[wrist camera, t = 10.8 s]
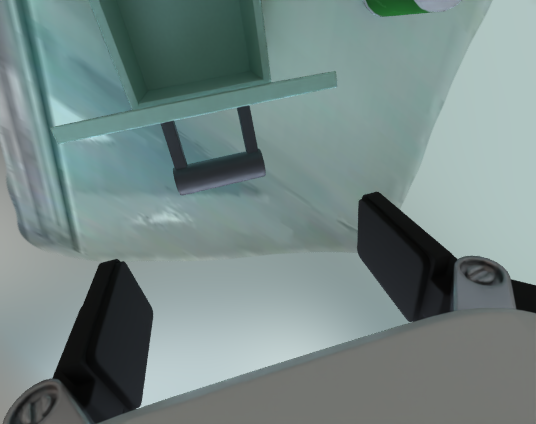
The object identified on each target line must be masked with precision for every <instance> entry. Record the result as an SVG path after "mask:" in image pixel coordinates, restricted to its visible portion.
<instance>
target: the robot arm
mask: <svg viewBox="0 0 536 424" xmlns="http://www.w3.org/2000/svg"><path fill="white" fill-rule="evenodd" d="M357 251H358V254H359V256H360V258H361V259H362V261H363V262H364V263H365V265H366V266H367V267H368V269H369V270H370V271H371V273H372V274H373V275H374V277H375V278H376V279H377V281H378V282H379V283H380V285H381V286H382V287H383V289H384V290H385V291H386V293H387V294H388V295H389V297H390V298H391V299H392V300H393V302H394V303H395V305H396V306H397V307H398V309H399V310H400V311H401V312H402V314H403V315H404V317H405V318H406V319H407V320H408V321H409V322H412V321H413V322H412V323H408V324H404V325H401V326H397V327H394V328H391V329H388V330H384V331H381V332H378V333H375V334H371V335H368V336H365V337H362V338H358V339H355V340H352V341H349V342H345V343H342V344H339V345H336V346H332V347H329V348H326V349H323V350H320V351H316V352H313V353H310V354H307V355H304V356H300V357H297V358H294V359H291V360H288V361H284V362H281V363H278V364H275V365H272V366H268V367H265V368H262V369H259V370H256V371H253V372H249V373H246V374H243V375H240V376H237V377H234V378H231V379H227V380H224V381H221V382H218V383H215V384H212V385H209V386H206V387H203V388H199V389H196V390H193V391H190V392H187V393H184V394H181V395H177V396H174V397H171V398H168V399H165V400H162V401H159V402H157V403H153V404H151V405H148V406H145V407H142V408H139V407H140V405H141V402H142V395H143V388H144V381H145V373H146V365H147V358H148V351H149V343H150V336H151V328H152V321H153V310H152V307H151V305H150V304H149V302H148V300H147V298H146V297H145V295H144V293H143V292H142V290H141V288H140V287H139V285H138V283H137V281H136V280H135V278H134V276H133V274H132V273H131V271H130V269H129V268H128V266H127V264H126V263H125V262H124V261H122V262H120V261H119V260H118V259H115V260H111V261H107V262H103V263H101V264H99V266H98V269H97V271H96V274H95V276H94V279H93V281H92V284H91V286H90V289H89V291H88V294H87V296H86V299H85V301H84V304H83V306H82V307H81V309H80V311H79V314H78V316H77V318H76V321H75V323H74V326H73V328H72V331H71V333H70V336H69V339H68V341H67V343H66V346H65V348H64V351H63V353H62V356H61V358H60V361H59V363H58V366H57V368H56V371H55V373H54V376H53V378H52V379H48V380H44V381H41V382H39V383H37V384H35V385H33V386H32V387H31V388H29V389H28V390H26V391H25V392H24V393H23V394H22V395H21V396H20V397H19V398H18V399H17V400H16V401H15V402H14V404H13V405H12V407H10V409H9V410H8V412H7V414H6V416H5V418H4V421H3V424H536V285H532V284H528V283H524V282H520V281H515V280H511V279H510V276H509V274H508V272H507V271H506V270H505V269H504V268H503V266H501V265H500V264H498V263H497V262H495V261H492V260H490V259H488V258H484V257H480V256H465V257H462V258H459V259H457V258H456V257H454V256H453V255H452V254H451V253H450V252H449V251H448V250H447V249H446V248H444V247H443V246H442V245H441V244H440V243H438V242H437V241H436V240H435V239H434V238H433V237H431V236H430V235H429V234H428V233H426V232H425V231H424V230H423V229H422V228H421V227H420V226H418V225H417V224H416V223H415V222H414V221H412V220H411V219H410V218H409V217H408V216H407V215H405V214H404V213H403V212H402V211H401V210H399V209H398V208H397V207H396V206H395V205H394V204H392V203H391V202H390V201H389V200H388V199H386V198H385V197H384V196H383V195H382V194H381V193H379V192H374V193H370V194H366V195H363V197H362V199H361V200H359V208H358V243H357ZM136 408H139V409H136Z"/></svg>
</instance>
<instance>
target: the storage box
mask: <svg viewBox="0 0 536 424" xmlns="http://www.w3.org/2000/svg"><path fill="white" fill-rule="evenodd" d="M89 2H90V5H91V7H92V10H93V12H94V15H95V18H96V20H97V23H98V25H99V28H100V30H101V33H102V35H103V38H104V40H105V43H106V45H107V48H108V50H109V53H110V55H111V58H112V61H113V63H114V66H115V68H116V71H117V73H118V76H119V78H120V81H121V83H122V86H123V88H124V91H125V93H126V96H127V98H128V101H129V104H130V106H131V109H132V110H135V109H140V108H145V107H150V106H155V105H160V104H165V103H170V102H175V101H180V100H185V99H190V98H195V97H200V96H206V95H211V94H216V93H221V92H226V91H231V90H236V89H241V88H246V87H251V86H256V85H261V84H266V83H271V76H270V68H269V60H268V53H267V45H266V37H265V29H264V21H263V13H262V5H261V0H89Z"/></svg>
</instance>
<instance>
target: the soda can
mask: <svg viewBox="0 0 536 424" xmlns="http://www.w3.org/2000/svg"><path fill="white" fill-rule="evenodd" d="M363 1H364V4H365V6H366V8H367V9H368V10H369V11H370V12H371V13H372V14H375V15H377V16H380V17H384V16H396V15H408V14H419V13H430V12H441V11H446V10H448V9H450V8H452V7H454V6H456V5H457V4H458V3H459V2H461V1H462V0H363Z"/></svg>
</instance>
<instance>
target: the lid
mask: <svg viewBox="0 0 536 424" xmlns="http://www.w3.org/2000/svg"><path fill="white" fill-rule="evenodd" d="M335 87H337V78H336V71H333V72H328V73H322V74H316V75H311V76H305V77H299V78H294V79H288V80H282V81H277V82H271V83H266V84H261V85H256V86H251V87H246V88H241V89H236V90H231V91H226V92H221V93H216V94H211V95H206V96H200V97H195V98H190V99H185V100H180V101H175V102H170V103H165V104H160V105H155V106H150V107H145V108H140V109H135V110H130V111H125V112H121V113H116V114H111V115H107V116H102V117H97V118H93V119H88V120H83V121H79V122H74V123H70V124H65V125H60V126H56V127H51V131H52V133H53V135H54V137H55V139H56V141H57V143H58V144H62V143H66V142H71V141H76V140H81V139H86V138H91V137H96V136H101V135H105V134H110V133H115V132H120V131H125V130H130V129H135V128H140V127H145V126H149V125H154V124H159V123H161V126H162V129H163V133H164V136H165V139H166V142H167V145H168V148H169V151H170V154H171V157H172V161H173V164H174V168H173V174H174V179H175V183H176V186H177V189H178V191H179V193H180V195H186V194H191V193H195V192H199V191H203V190H208V189H212V188H216V187H220V186H225V185H229V184H233V183H238V182H242V181H246V180H250V179H255V178H259V177H263V176H265V175H266V172H265V165H264V160H263V156H262V153H261V151H260V149H258V147H257V142H256V137H255V132H254V127H253V122H252V116H251V111H250V106H249V105H252V104H257V103H262V102H267V101H271V100H276V99H281V98H286V97H291V96H296V95H301V94H306V93H310V92H315V91H320V90H325V89H330V88H335ZM232 108H237V111H238V115H239V120H240V125H241V129H242V134H243V139H244V144H245V148H246V152H241V153H237V154H232V155H228V156H223V157H219V158H215V159H210V160H206V161H201V162H197V163H192V164H188V165H187V162H186V159H185V155H184V152H183V149H182V145H181V142H180V139H179V135H178V132H177V129H176V125H175V122H174V120H179V119H184V118H188V117H193V116H198V115H203V114H208V113H213V112H218V111H223V110H227V109H232Z"/></svg>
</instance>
